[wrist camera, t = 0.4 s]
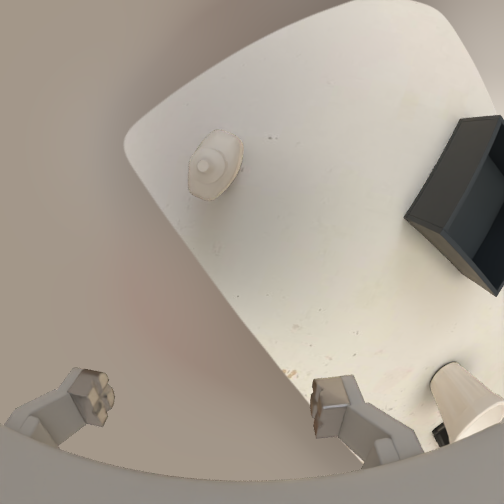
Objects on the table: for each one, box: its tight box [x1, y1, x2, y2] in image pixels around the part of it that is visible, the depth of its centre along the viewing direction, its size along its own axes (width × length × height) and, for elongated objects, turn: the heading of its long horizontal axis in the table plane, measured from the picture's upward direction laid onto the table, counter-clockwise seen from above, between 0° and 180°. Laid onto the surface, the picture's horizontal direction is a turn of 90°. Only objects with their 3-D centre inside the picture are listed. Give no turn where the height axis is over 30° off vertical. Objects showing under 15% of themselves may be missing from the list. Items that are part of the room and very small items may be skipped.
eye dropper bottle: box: [188, 129, 243, 201], centre depth 23 cm, size 4×6×12 cm
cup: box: [430, 362, 504, 444], centre depth 31 cm, size 10×10×13 cm
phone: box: [433, 423, 450, 447], centre depth 42 cm, size 8×1×15 cm
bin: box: [404, 115, 504, 297], centre depth 26 cm, size 15×13×8 cm
